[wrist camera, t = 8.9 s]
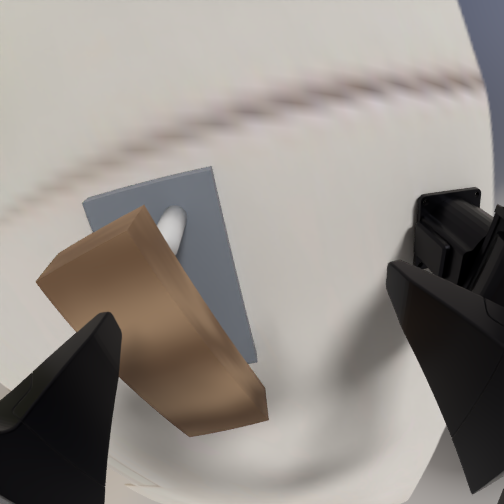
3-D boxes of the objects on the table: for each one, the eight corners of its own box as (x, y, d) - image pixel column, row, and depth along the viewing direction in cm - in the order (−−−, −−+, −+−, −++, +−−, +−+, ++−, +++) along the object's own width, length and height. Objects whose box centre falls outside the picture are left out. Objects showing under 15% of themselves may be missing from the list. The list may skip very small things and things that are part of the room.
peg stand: (87, 198, 20) (54, 228, 15) (211, 166, 19) (205, 190, 15) (163, 365, 28) (155, 408, 23) (256, 354, 28) (261, 398, 23)
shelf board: (265, 387, 22) (268, 420, 20) (191, 406, 23) (189, 437, 21) (144, 204, 15) (126, 230, 12) (58, 253, 16) (35, 281, 13)
